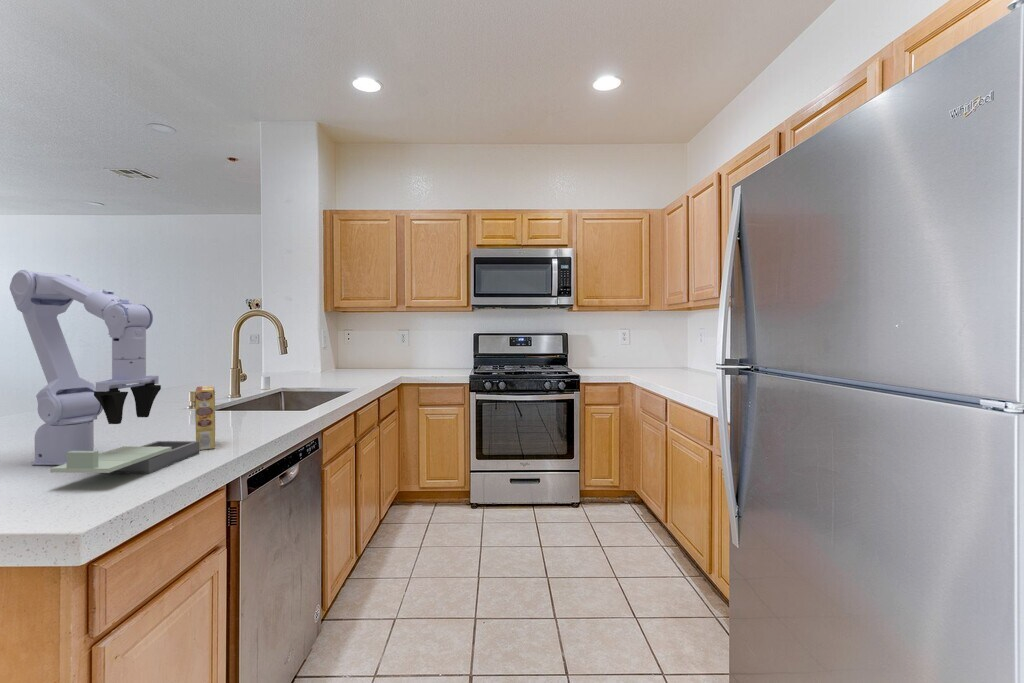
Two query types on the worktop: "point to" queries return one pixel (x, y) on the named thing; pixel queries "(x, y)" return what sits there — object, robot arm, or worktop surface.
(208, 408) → the candy box
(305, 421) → the worktop surface
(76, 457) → the lid
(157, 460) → the tub
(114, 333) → the robot arm
